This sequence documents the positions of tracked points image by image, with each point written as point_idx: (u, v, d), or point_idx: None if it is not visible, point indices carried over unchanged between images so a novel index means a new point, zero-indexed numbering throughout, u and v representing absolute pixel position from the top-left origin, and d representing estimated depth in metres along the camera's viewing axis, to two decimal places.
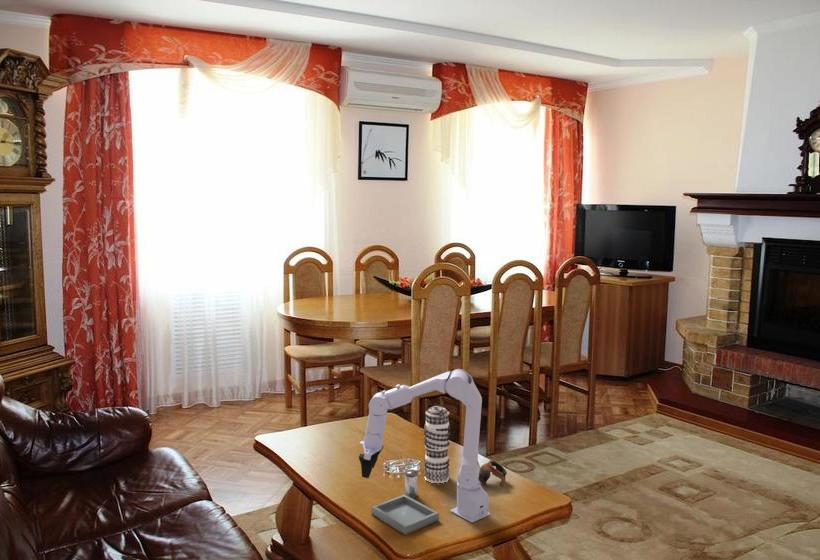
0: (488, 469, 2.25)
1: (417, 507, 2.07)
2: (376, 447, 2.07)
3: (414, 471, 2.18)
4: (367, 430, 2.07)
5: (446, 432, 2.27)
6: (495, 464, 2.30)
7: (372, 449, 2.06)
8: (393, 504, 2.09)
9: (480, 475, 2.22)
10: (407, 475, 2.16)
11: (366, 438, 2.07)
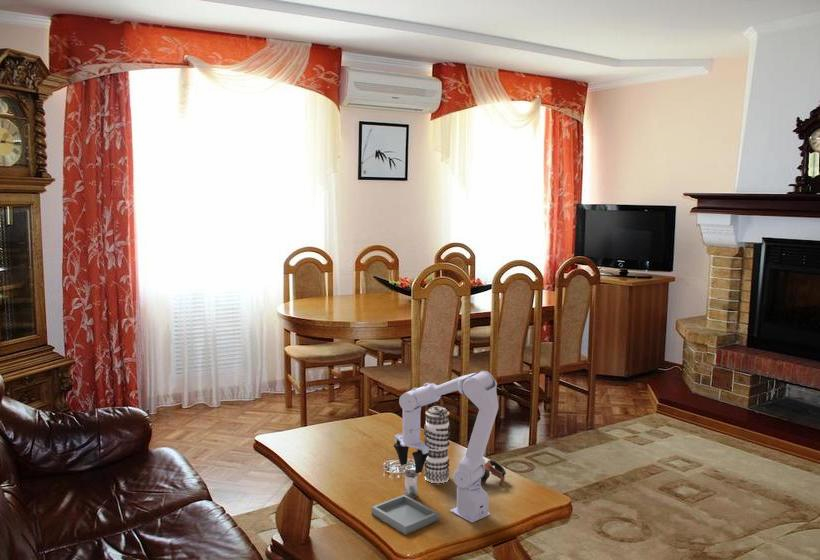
0: (487, 469, 2.25)
1: (417, 507, 2.07)
2: (419, 440, 2.15)
3: (414, 471, 2.18)
4: None
5: (446, 432, 2.27)
6: (494, 464, 2.31)
7: (419, 443, 2.14)
8: (393, 504, 2.09)
9: None
10: (407, 475, 2.16)
11: (411, 436, 2.13)
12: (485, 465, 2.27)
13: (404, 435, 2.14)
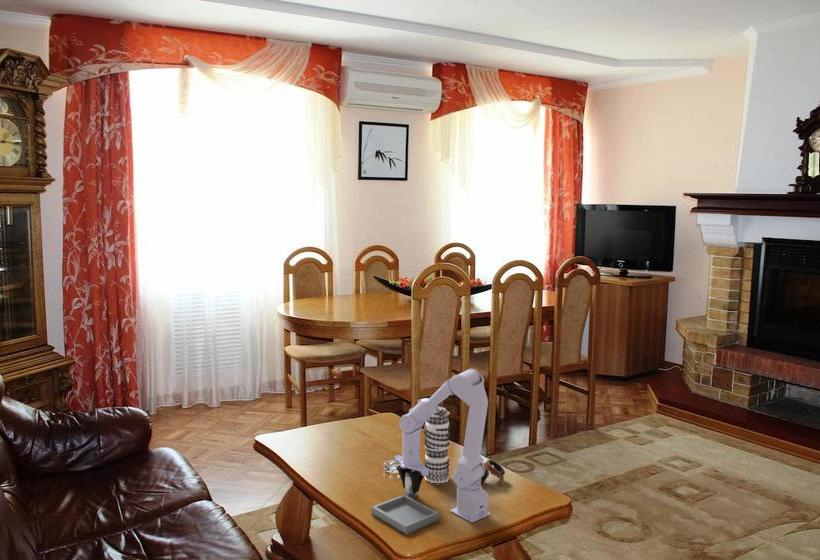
0: (486, 468, 2.26)
1: (417, 507, 2.07)
2: (419, 462, 2.16)
3: None
4: (402, 448, 2.15)
5: (446, 432, 2.27)
6: (493, 463, 2.31)
7: (418, 465, 2.15)
8: (393, 504, 2.09)
9: None
10: (407, 475, 2.16)
11: (410, 458, 2.14)
12: (484, 465, 2.27)
13: (404, 457, 2.15)
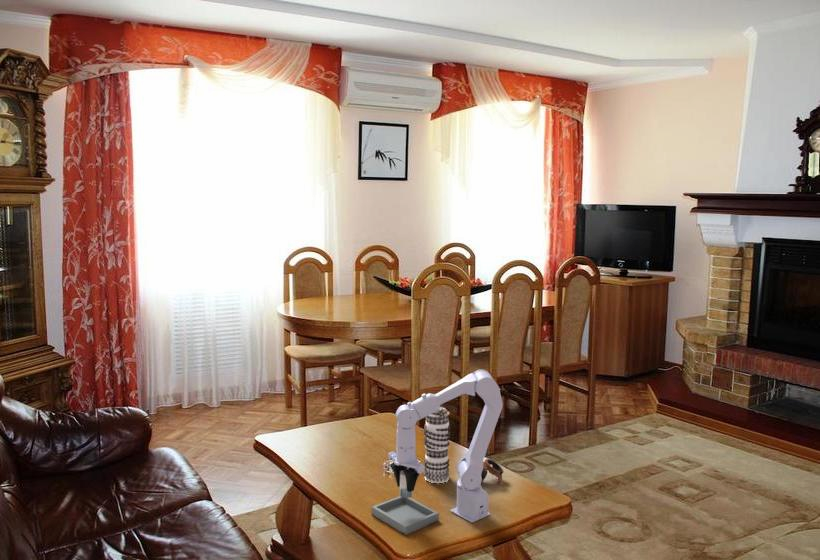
0: (485, 467, 2.26)
1: (417, 507, 2.07)
2: (414, 459, 2.02)
3: None
4: (399, 446, 2.00)
5: (446, 432, 2.27)
6: (491, 462, 2.32)
7: (414, 462, 2.01)
8: (393, 504, 2.09)
9: None
10: (403, 473, 2.02)
11: (405, 455, 2.00)
12: (483, 464, 2.28)
13: (398, 453, 2.01)
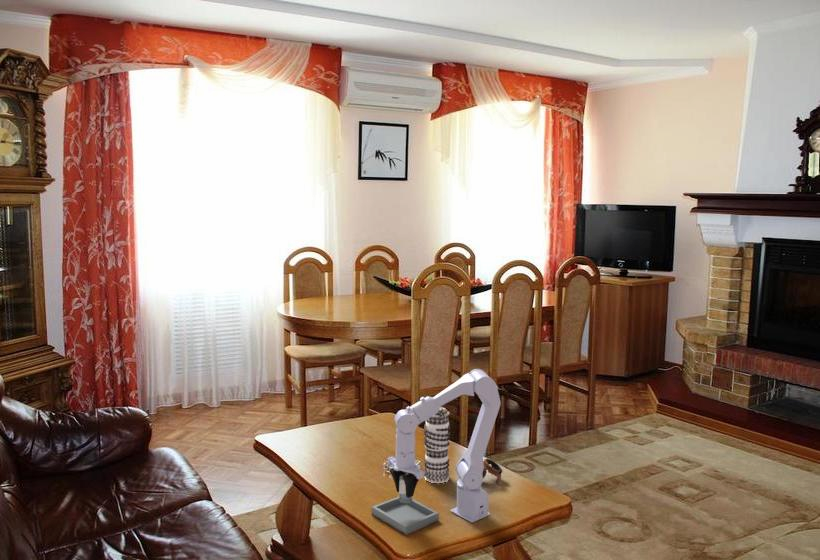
0: (484, 467, 2.27)
1: (417, 507, 2.07)
2: (414, 464, 2.01)
3: None
4: (399, 451, 1.98)
5: (446, 432, 2.27)
6: (490, 462, 2.32)
7: (413, 468, 1.99)
8: (393, 504, 2.09)
9: None
10: None
11: (404, 460, 1.98)
12: None
13: (397, 458, 1.99)
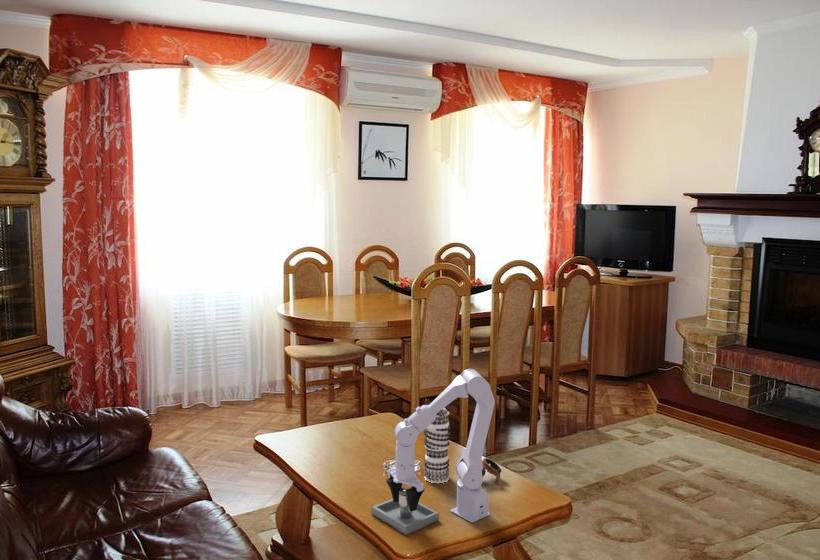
0: (483, 467, 2.27)
1: (417, 507, 2.07)
2: (414, 476, 2.01)
3: None
4: (399, 463, 1.99)
5: (446, 432, 2.27)
6: (489, 462, 2.32)
7: (413, 480, 2.00)
8: (393, 504, 2.09)
9: None
10: (402, 494, 2.01)
11: (404, 472, 1.99)
12: None
13: (397, 471, 2.00)
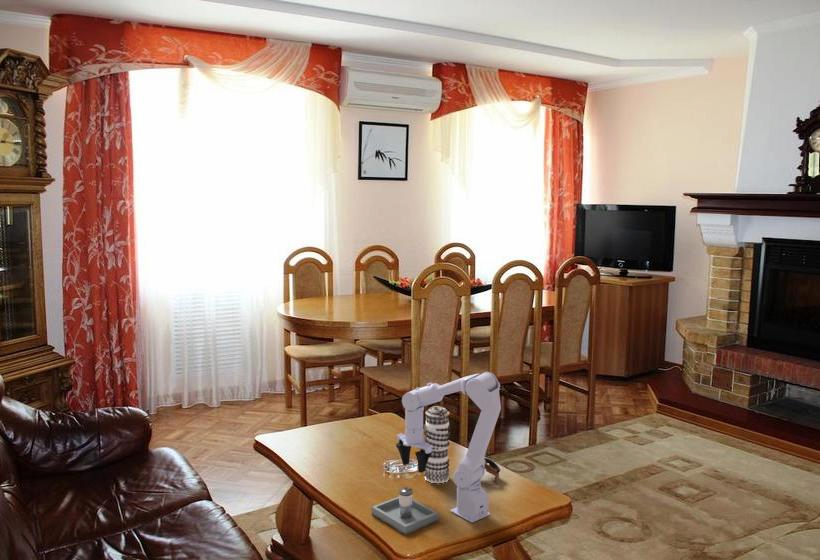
0: None
1: (417, 507, 2.07)
2: (422, 440, 2.15)
3: (408, 489, 2.03)
4: (405, 426, 2.14)
5: (446, 432, 2.27)
6: (488, 461, 2.33)
7: (421, 443, 2.14)
8: (393, 504, 2.09)
9: None
10: (402, 494, 2.01)
11: (413, 436, 2.12)
12: None
13: (407, 435, 2.13)
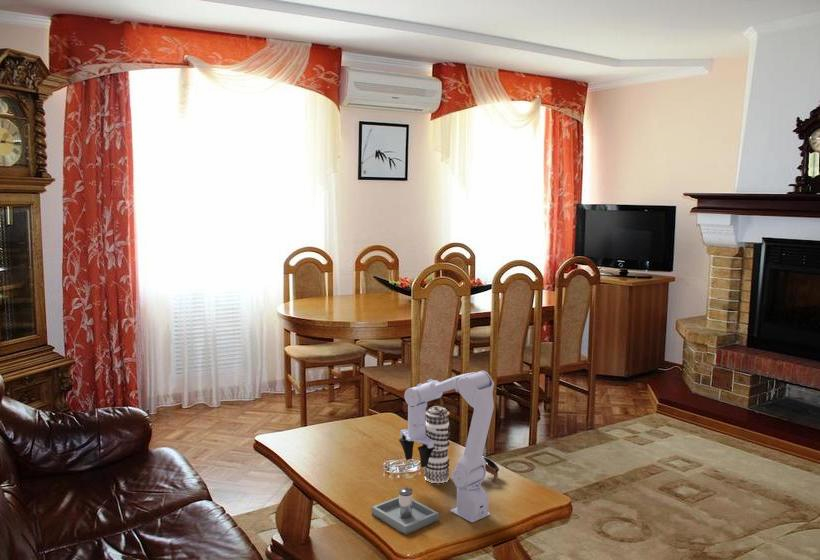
0: None
1: (417, 507, 2.07)
2: (425, 435, 2.19)
3: (408, 489, 2.03)
4: (408, 421, 2.19)
5: (446, 432, 2.27)
6: (487, 460, 2.33)
7: (424, 438, 2.18)
8: (393, 504, 2.09)
9: None
10: (402, 494, 2.01)
11: (416, 431, 2.17)
12: None
13: (410, 430, 2.18)
